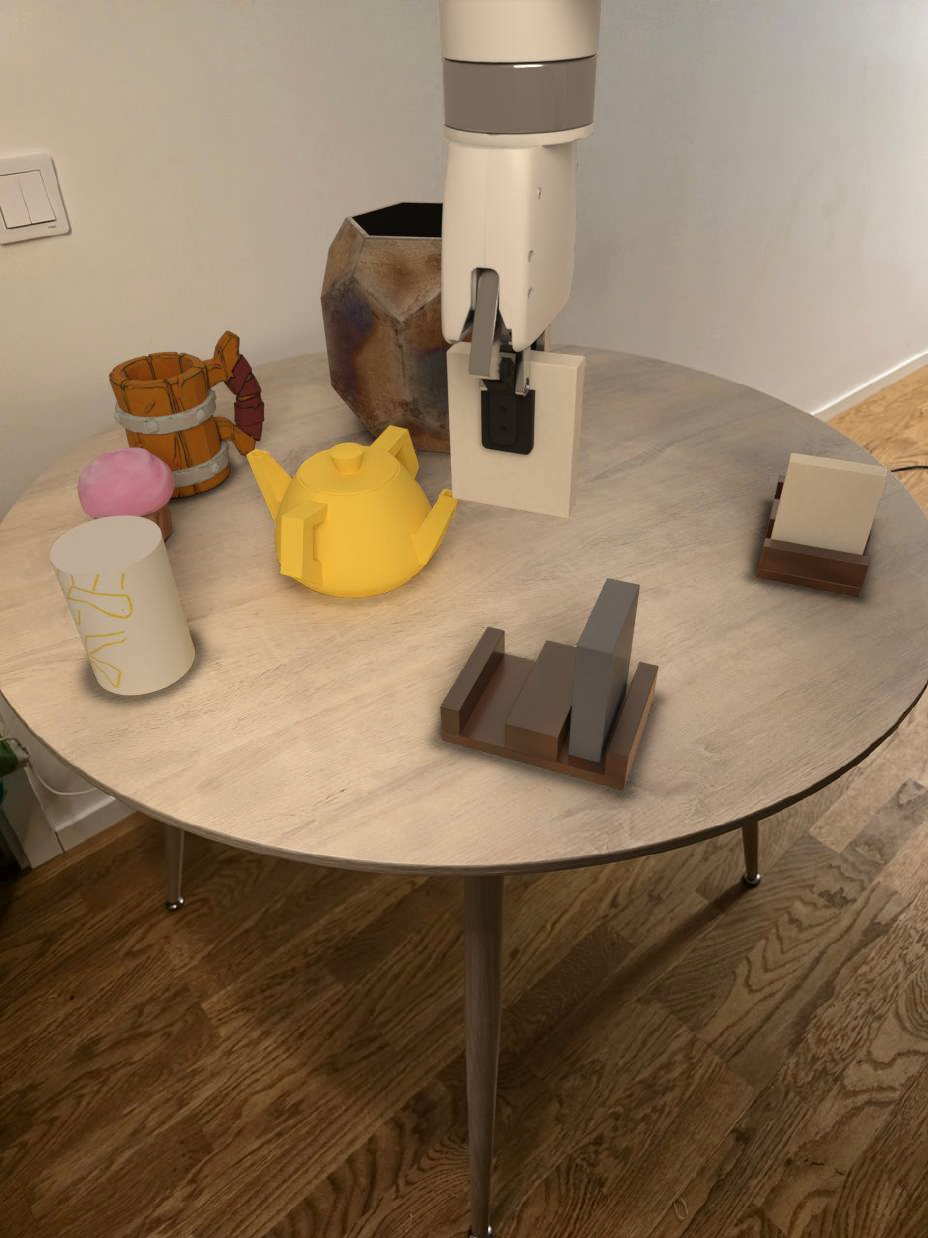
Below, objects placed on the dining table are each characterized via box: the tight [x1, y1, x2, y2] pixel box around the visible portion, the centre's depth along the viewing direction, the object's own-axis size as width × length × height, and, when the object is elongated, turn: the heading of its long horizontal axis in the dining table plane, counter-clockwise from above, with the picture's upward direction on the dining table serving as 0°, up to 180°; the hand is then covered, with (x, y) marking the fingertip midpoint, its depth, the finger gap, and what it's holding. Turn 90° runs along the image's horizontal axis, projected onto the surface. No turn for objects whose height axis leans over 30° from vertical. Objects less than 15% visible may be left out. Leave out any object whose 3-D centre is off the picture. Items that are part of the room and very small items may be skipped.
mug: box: [108, 330, 265, 499], centre depth 95 cm, size 11×16×15 cm, turn 120°
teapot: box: [246, 425, 461, 599], centre depth 81 cm, size 17×17×12 cm
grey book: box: [568, 577, 641, 763], centre depth 62 cm, size 2×8×10 cm, turn 158°
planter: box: [320, 200, 473, 454], centre depth 100 cm, size 22×24×24 cm
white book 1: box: [447, 342, 586, 520], centre depth 54 cm, size 2×8×10 cm, turn 69°
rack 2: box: [756, 474, 872, 598], centre depth 83 cm, size 9×14×4 cm, turn 158°
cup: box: [49, 515, 196, 696], centre depth 69 cm, size 8×8×12 cm
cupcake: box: [77, 447, 175, 541], centre depth 84 cm, size 9×9×10 cm
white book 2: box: [771, 452, 889, 555], centre depth 78 cm, size 8×2×10 cm, turn 68°
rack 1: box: [439, 626, 659, 791], centre depth 66 cm, size 14×10×4 cm
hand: (514, 438), depth 54 cm, fingers closed on white book 1, 1 cm apart
